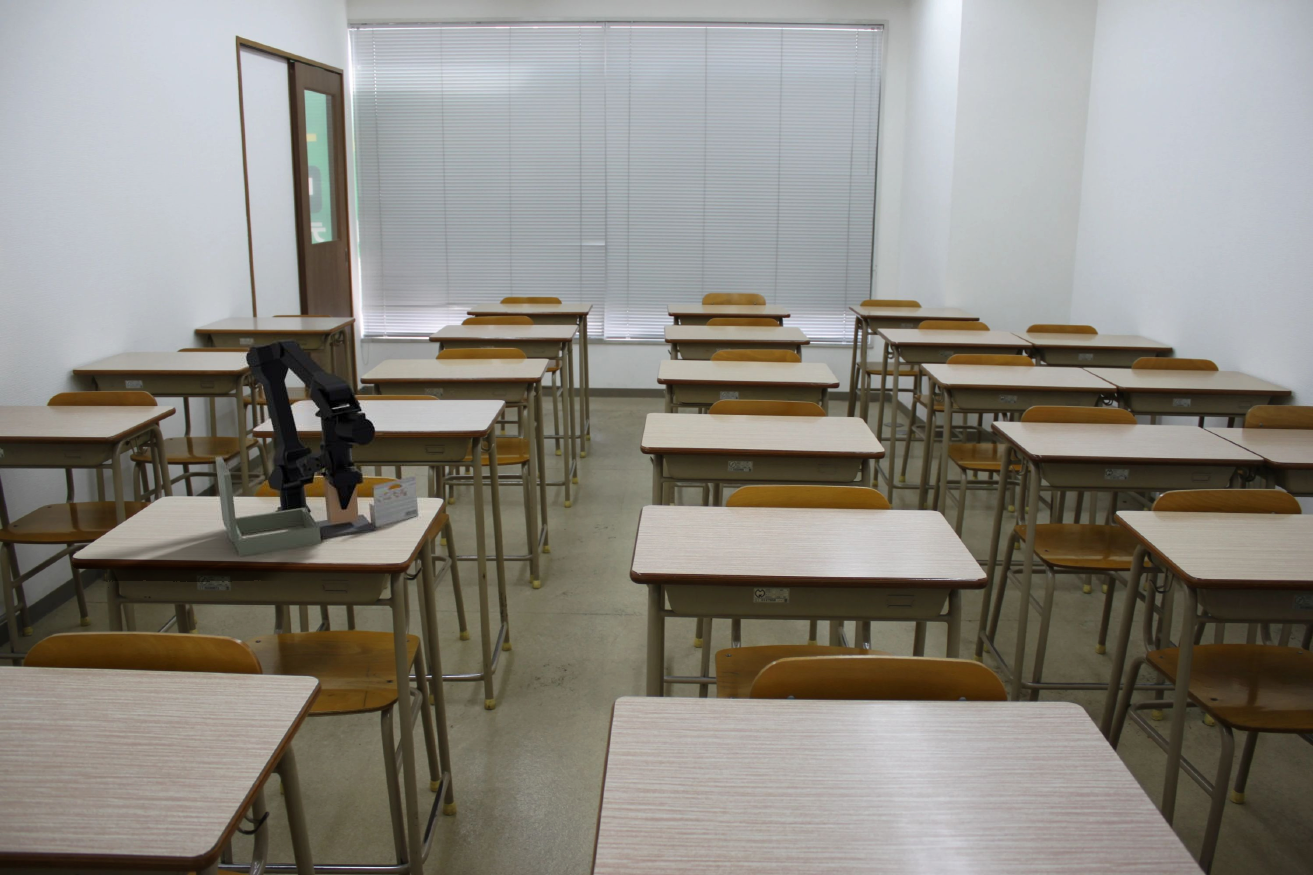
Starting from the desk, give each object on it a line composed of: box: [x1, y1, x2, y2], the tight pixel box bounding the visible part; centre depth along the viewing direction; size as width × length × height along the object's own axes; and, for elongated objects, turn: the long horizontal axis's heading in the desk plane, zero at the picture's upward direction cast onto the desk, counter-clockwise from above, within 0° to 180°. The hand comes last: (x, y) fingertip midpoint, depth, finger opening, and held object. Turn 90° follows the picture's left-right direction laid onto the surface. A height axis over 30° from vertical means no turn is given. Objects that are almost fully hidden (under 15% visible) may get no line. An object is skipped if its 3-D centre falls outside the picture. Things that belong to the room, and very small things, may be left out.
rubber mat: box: [315, 513, 376, 539], centre depth 214 cm, size 11×11×1 cm
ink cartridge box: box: [368, 475, 419, 528], centre depth 218 cm, size 2×11×10 cm, turn 136°
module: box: [322, 475, 359, 525], centre depth 212 cm, size 4×6×10 cm, turn 120°
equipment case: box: [214, 456, 322, 557], centre depth 205 cm, size 16×17×18 cm
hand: (341, 506), depth 213 cm, fingers closed on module, 4 cm apart
